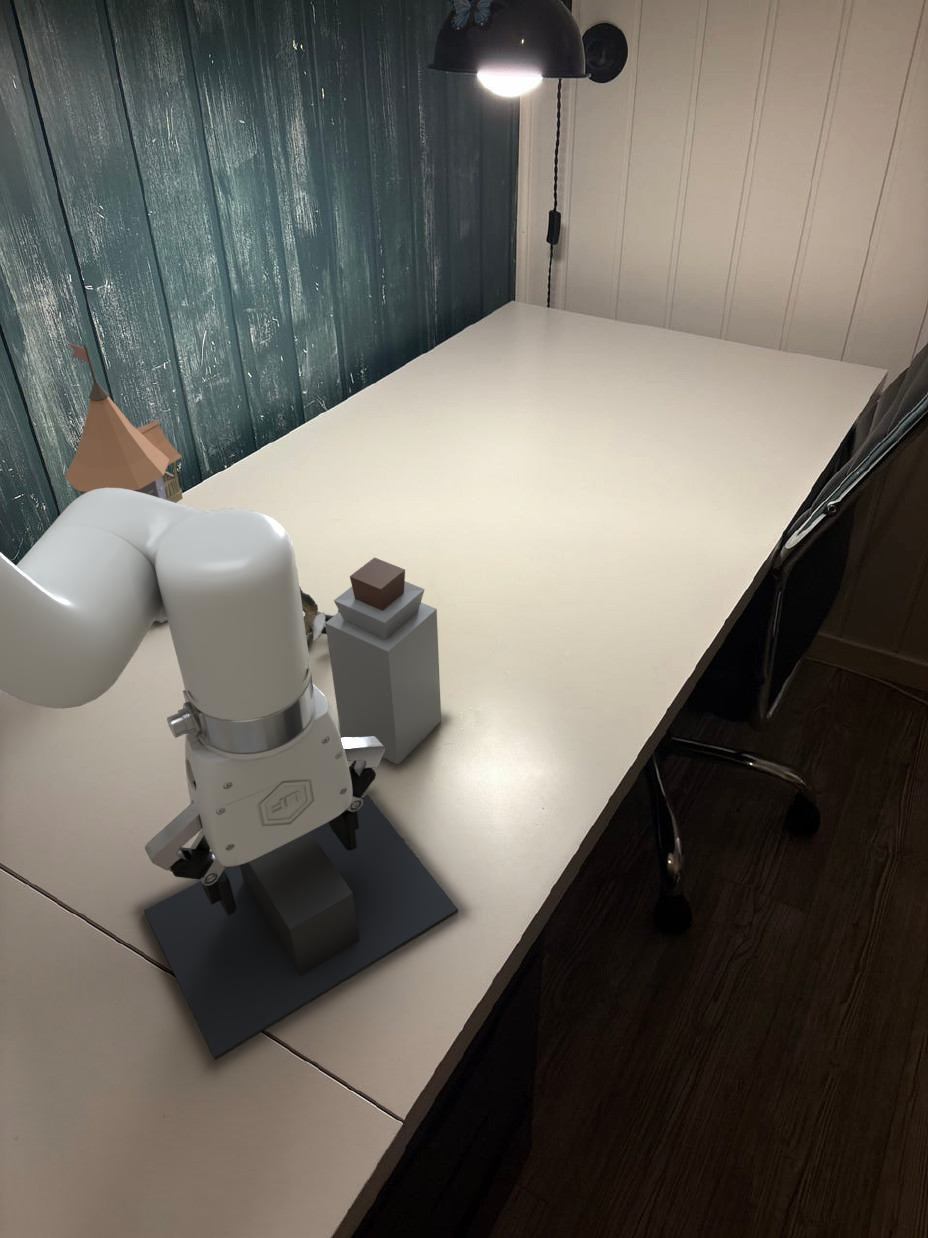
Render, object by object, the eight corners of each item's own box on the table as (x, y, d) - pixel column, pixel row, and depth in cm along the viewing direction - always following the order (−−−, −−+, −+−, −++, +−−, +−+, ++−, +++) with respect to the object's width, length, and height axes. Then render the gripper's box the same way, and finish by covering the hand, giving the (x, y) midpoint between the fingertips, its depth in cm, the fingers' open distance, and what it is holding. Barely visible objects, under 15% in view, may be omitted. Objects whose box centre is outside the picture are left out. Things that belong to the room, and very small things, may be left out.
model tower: (225, 589, 104) (168, 330, 85) (151, 642, 97) (72, 373, 78) (165, 564, 108) (98, 312, 89) (90, 613, 101) (1, 350, 82)
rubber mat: (215, 1059, 62) (214, 1057, 62) (144, 912, 71) (143, 910, 71) (458, 911, 71) (458, 909, 71) (367, 796, 80) (367, 794, 80)
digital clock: (361, 939, 69) (354, 892, 65) (300, 976, 67) (289, 929, 63) (301, 850, 75) (292, 802, 71) (243, 881, 73) (230, 833, 69)
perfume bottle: (441, 720, 87) (434, 565, 76) (397, 765, 83) (384, 607, 72) (385, 693, 90) (371, 541, 79) (340, 735, 86) (319, 579, 75)
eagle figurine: (362, 605, 99) (287, 579, 100) (353, 584, 93) (272, 556, 94) (336, 669, 97) (259, 642, 99) (324, 652, 91) (241, 623, 92)
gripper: (136, 800, 51) (192, 967, 61) (403, 680, 58) (411, 847, 69) (94, 720, 55) (153, 888, 66) (346, 619, 63) (362, 784, 74)
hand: (285, 867), depth 68 cm, fingers open, 9 cm apart
